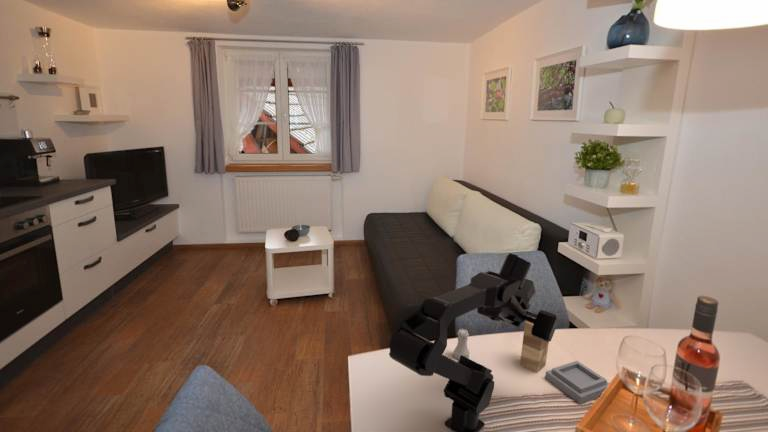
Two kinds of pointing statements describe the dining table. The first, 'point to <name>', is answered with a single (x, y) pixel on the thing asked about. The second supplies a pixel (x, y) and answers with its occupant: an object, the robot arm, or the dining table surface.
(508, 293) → the robot arm
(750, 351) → the dining table surface
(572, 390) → the base plate
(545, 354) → the oak brick column
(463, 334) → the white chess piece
